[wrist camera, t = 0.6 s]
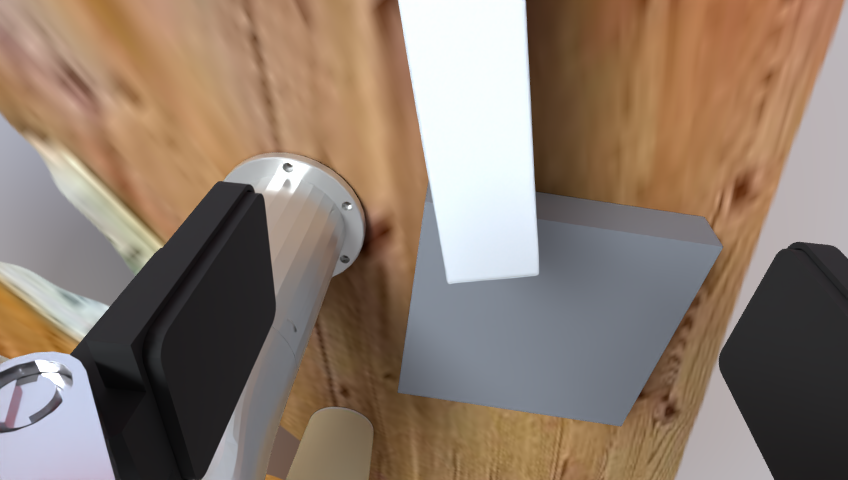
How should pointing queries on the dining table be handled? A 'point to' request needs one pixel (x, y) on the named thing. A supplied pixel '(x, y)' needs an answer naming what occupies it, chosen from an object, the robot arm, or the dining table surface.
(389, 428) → the dining table surface
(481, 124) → the skincare box
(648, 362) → the podium
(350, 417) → the coffee cup
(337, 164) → the dining table surface
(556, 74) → the dining table surface
